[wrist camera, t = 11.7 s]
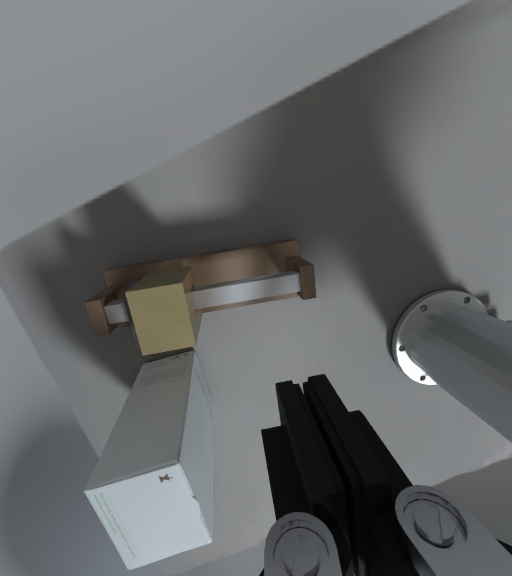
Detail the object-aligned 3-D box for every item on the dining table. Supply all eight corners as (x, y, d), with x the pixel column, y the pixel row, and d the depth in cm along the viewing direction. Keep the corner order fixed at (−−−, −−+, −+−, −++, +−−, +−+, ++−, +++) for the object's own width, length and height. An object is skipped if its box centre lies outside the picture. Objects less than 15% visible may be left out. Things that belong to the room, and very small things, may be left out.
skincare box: (142, 361, 33) (75, 487, 18) (198, 346, 33) (179, 457, 18) (165, 420, 35) (122, 576, 20) (217, 406, 35) (214, 548, 20)
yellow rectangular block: (192, 265, 27) (182, 282, 20) (202, 314, 28) (195, 346, 22) (149, 272, 27) (125, 292, 20) (161, 321, 28) (142, 355, 21)
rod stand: (295, 239, 31) (320, 248, 23) (300, 291, 33) (325, 316, 25) (108, 269, 30) (66, 289, 22) (123, 322, 31) (90, 358, 23)
